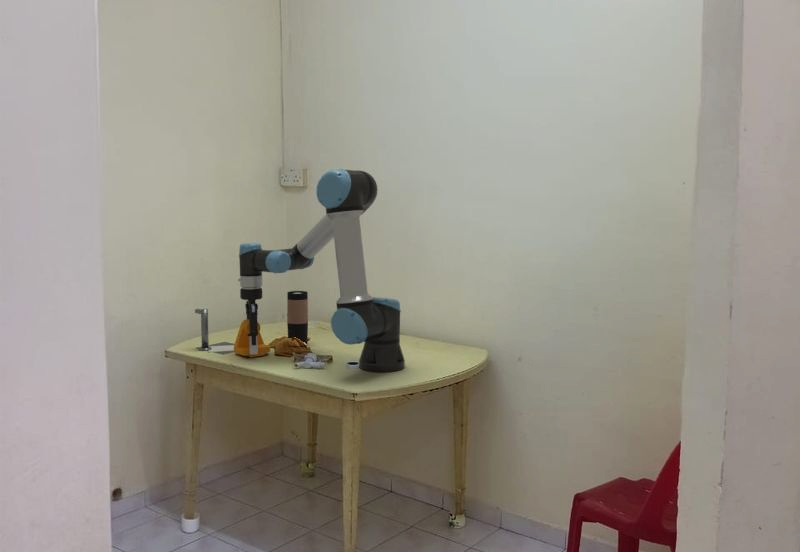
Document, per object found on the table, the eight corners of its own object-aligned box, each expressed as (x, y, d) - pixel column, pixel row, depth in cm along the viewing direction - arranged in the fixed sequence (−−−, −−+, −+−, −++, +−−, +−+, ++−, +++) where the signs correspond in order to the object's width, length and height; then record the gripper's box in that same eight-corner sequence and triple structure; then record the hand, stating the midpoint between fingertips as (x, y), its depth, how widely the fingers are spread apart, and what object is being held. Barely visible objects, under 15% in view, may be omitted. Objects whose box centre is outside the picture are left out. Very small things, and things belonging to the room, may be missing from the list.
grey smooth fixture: (214, 349, 257) (213, 309, 256) (204, 351, 254) (203, 310, 252) (202, 346, 261) (201, 307, 259) (192, 348, 258) (191, 308, 256)
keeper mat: (222, 356, 248) (222, 355, 248) (192, 349, 258) (192, 348, 258) (257, 349, 261) (257, 347, 261) (226, 342, 271) (226, 341, 271)
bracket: (243, 358, 245) (242, 323, 243) (233, 354, 250) (233, 320, 249) (271, 353, 251) (270, 320, 250) (261, 350, 257) (260, 317, 256)
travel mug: (284, 343, 270) (284, 291, 268) (303, 341, 274) (303, 290, 272) (292, 347, 264) (291, 294, 261) (311, 345, 267) (311, 292, 265)
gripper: (238, 284, 257) (239, 345, 260) (242, 292, 237) (244, 358, 239) (259, 283, 260) (260, 344, 262) (265, 291, 239) (266, 357, 241)
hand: (252, 351), depth 251 cm, fingers closed on bracket, 9 cm apart
